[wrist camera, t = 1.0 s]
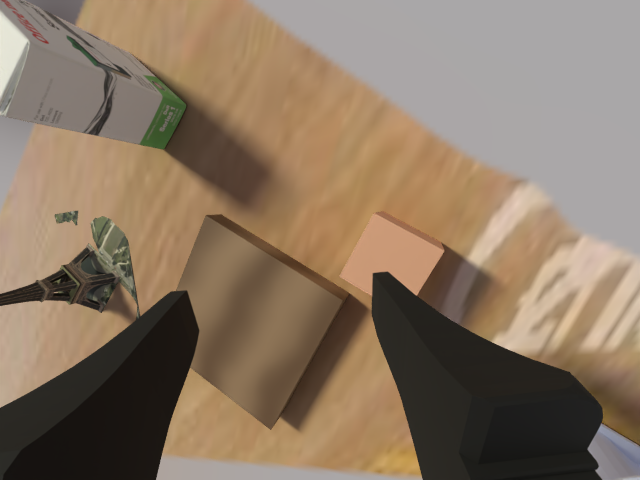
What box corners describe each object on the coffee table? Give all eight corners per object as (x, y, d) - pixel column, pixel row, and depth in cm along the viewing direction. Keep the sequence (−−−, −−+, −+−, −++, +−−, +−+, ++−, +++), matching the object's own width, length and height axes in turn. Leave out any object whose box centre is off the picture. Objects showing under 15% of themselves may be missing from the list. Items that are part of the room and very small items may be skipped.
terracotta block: (440, 241, 22) (444, 250, 18) (407, 295, 23) (403, 315, 19) (382, 211, 23) (373, 212, 19) (354, 263, 24) (339, 276, 20)
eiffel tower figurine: (151, 347, 33) (-21, 437, 20) (82, 345, 36) (-102, 422, 23) (127, 202, 32) (-71, 202, 19) (58, 214, 35) (-150, 220, 22)
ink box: (190, 106, 27) (29, 39, 16) (163, 153, 29) (-2, 121, 18) (128, 49, 29) (-59, -48, 18) (105, 97, 30) (-82, 34, 19)
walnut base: (349, 293, 25) (343, 300, 23) (281, 414, 28) (270, 429, 26) (220, 214, 28) (205, 215, 26) (172, 332, 31) (155, 341, 29)
